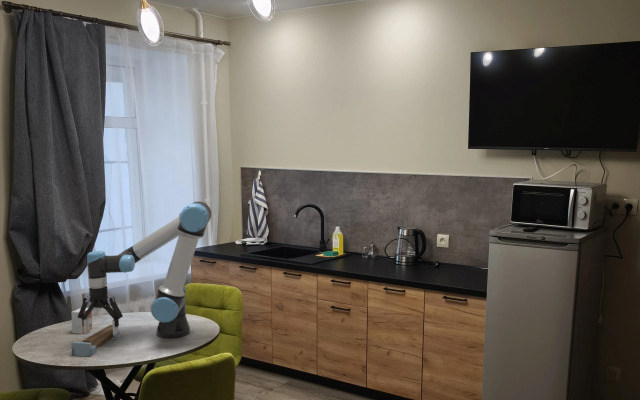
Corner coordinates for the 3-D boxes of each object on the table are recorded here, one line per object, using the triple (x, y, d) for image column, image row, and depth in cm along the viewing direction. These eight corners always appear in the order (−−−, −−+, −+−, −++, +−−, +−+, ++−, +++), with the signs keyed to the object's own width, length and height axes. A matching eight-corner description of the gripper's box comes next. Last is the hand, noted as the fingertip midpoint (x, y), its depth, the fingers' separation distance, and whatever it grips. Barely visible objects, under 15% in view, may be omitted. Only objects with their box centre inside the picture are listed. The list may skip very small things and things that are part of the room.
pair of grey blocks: (119, 337, 257) (119, 331, 257) (115, 340, 254) (115, 333, 253) (102, 336, 258) (102, 330, 258) (98, 339, 255) (98, 332, 255)
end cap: (96, 352, 238) (96, 339, 237) (90, 356, 233) (89, 343, 233) (78, 351, 239) (77, 338, 239) (71, 355, 235) (71, 342, 234)
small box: (82, 334, 262) (81, 312, 261) (71, 333, 263) (70, 311, 262) (92, 329, 270) (91, 307, 269) (82, 328, 271) (81, 307, 270)
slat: (118, 335, 261) (118, 325, 260) (91, 352, 239) (90, 340, 239) (110, 335, 261) (110, 324, 261) (82, 351, 240) (82, 340, 239)
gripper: (128, 284, 248) (131, 331, 250) (77, 284, 252) (80, 330, 254) (120, 288, 241) (123, 337, 242) (67, 288, 244) (70, 335, 246)
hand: (101, 333), depth 248 cm, fingers open, 13 cm apart
